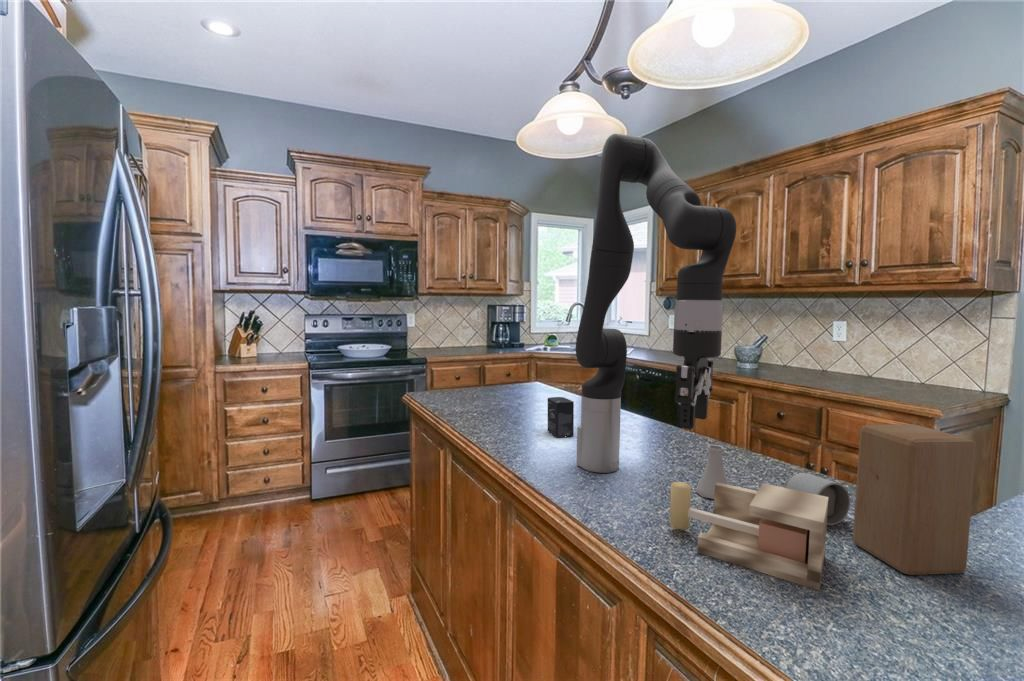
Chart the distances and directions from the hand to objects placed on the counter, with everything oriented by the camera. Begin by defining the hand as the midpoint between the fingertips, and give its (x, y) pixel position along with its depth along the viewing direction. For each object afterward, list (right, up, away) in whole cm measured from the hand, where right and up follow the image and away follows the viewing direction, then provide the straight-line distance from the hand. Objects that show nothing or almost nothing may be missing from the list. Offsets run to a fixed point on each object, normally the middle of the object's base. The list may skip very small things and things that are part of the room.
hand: (693, 423), depth 79 cm
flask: (+11, -18, +17) cm, 27 cm away
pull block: (+5, -18, -4) cm, 19 cm away
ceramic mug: (+24, -19, +7) cm, 31 cm away
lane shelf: (+8, -19, -7) cm, 22 cm away
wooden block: (+30, -20, -7) cm, 37 cm away
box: (-16, -15, +62) cm, 66 cm away
